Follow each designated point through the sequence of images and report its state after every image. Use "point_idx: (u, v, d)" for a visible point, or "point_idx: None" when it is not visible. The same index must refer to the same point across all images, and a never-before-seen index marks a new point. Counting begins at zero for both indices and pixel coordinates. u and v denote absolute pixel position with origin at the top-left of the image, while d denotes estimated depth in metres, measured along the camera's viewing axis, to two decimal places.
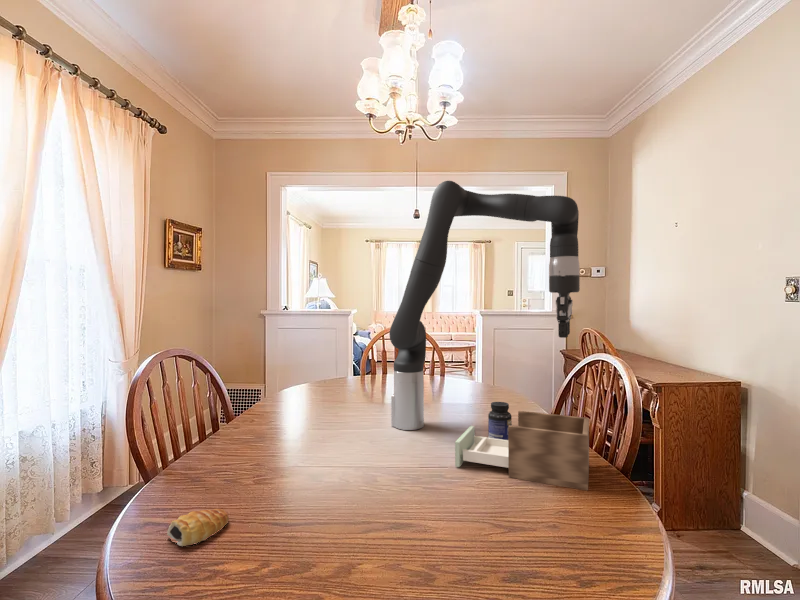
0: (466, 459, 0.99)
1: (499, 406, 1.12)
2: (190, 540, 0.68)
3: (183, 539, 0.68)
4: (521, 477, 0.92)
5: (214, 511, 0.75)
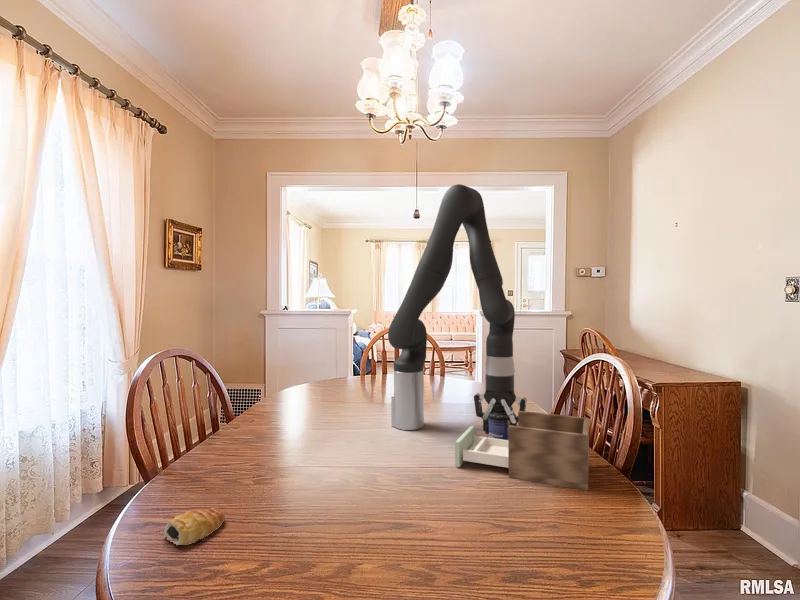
0: (466, 459, 0.99)
1: (499, 406, 1.12)
2: (188, 540, 0.68)
3: (180, 538, 0.68)
4: (521, 477, 0.92)
5: (210, 510, 0.75)
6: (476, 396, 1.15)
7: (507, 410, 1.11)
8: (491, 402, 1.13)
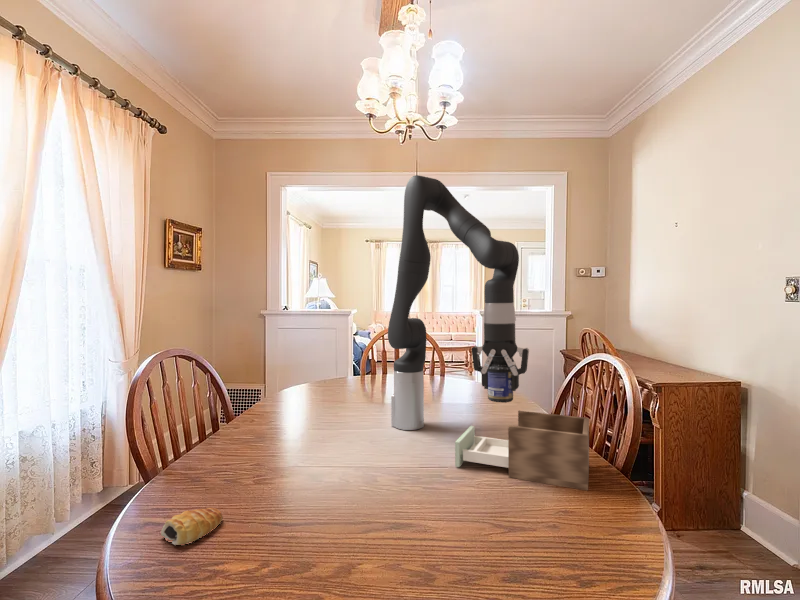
0: (466, 459, 0.99)
1: (499, 357, 1.02)
2: (186, 539, 0.68)
3: (179, 538, 0.68)
4: (521, 477, 0.92)
5: (208, 510, 0.75)
6: (474, 348, 1.06)
7: (508, 361, 1.02)
8: (490, 353, 1.03)
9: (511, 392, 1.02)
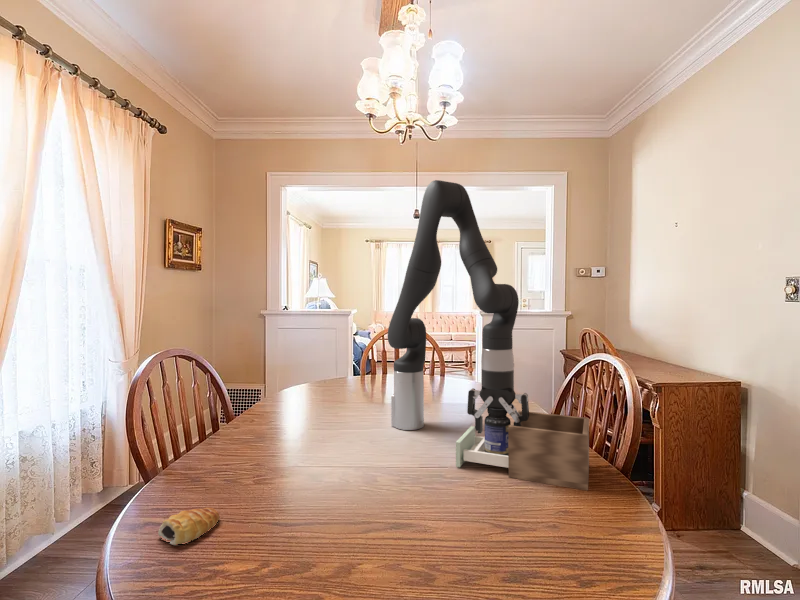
0: (467, 459, 0.99)
1: (496, 410, 0.99)
2: (184, 539, 0.68)
3: (176, 538, 0.68)
4: (521, 477, 0.92)
5: (205, 510, 0.75)
6: (471, 392, 1.03)
7: (507, 409, 0.98)
8: (487, 400, 1.00)
9: None
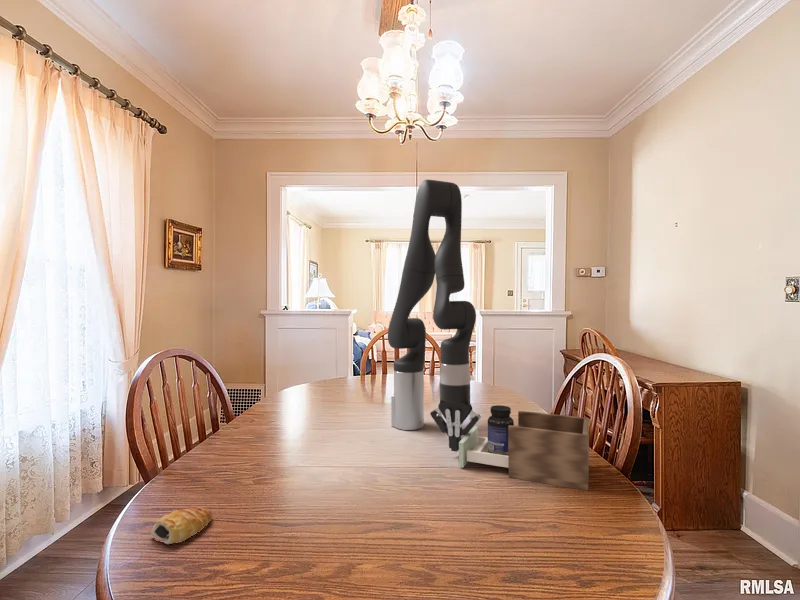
0: (470, 460, 0.98)
1: (500, 411, 0.99)
2: (178, 538, 0.69)
3: (171, 537, 0.68)
4: (521, 477, 0.92)
5: (197, 509, 0.75)
6: (432, 412, 1.07)
7: (456, 422, 1.03)
8: (447, 414, 1.04)
9: None
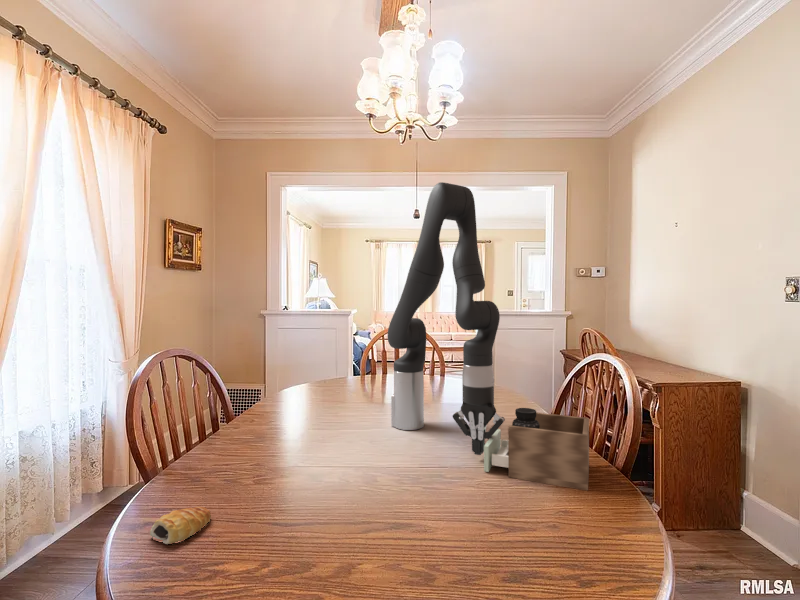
0: (495, 464, 0.96)
1: (526, 413, 0.96)
2: (178, 538, 0.69)
3: (170, 537, 0.68)
4: (521, 477, 0.92)
5: (196, 509, 0.75)
6: (454, 415, 1.04)
7: (480, 425, 1.01)
8: (470, 417, 1.02)
9: None
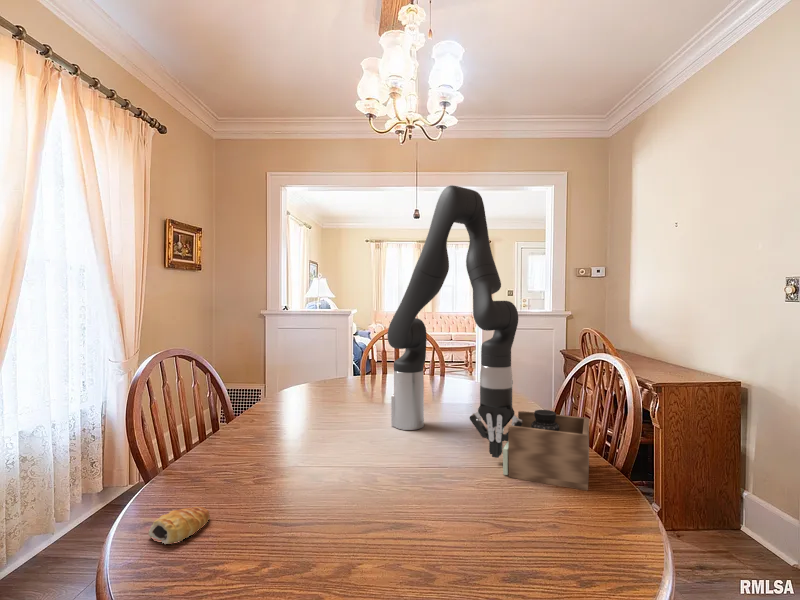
0: None
1: (545, 415, 0.95)
2: (177, 538, 0.69)
3: (169, 537, 0.68)
4: (521, 477, 0.92)
5: (195, 509, 0.75)
6: (471, 417, 1.02)
7: (498, 427, 0.99)
8: (488, 419, 1.00)
9: None
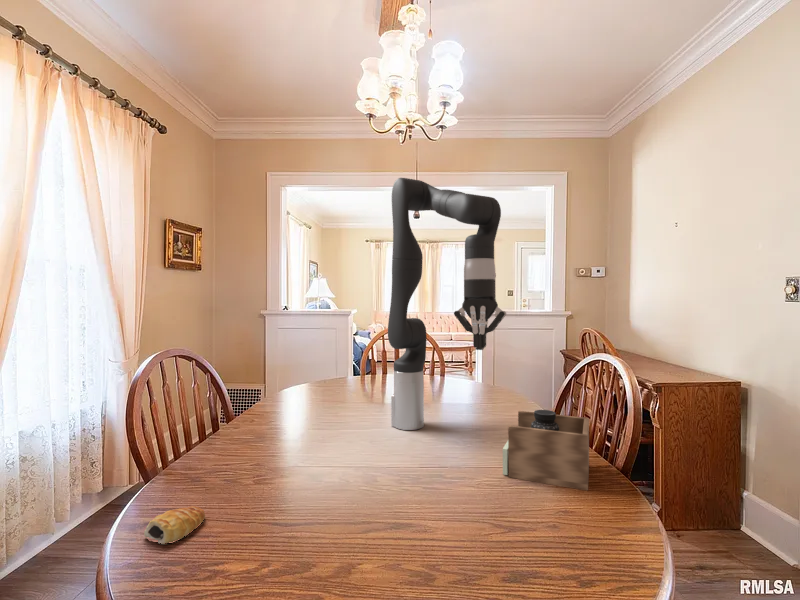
0: None
1: (545, 415, 0.95)
2: (173, 537, 0.69)
3: (166, 537, 0.68)
4: (521, 477, 0.92)
5: (190, 508, 0.75)
6: (456, 312, 1.04)
7: (482, 318, 1.01)
8: (471, 311, 1.02)
9: None
